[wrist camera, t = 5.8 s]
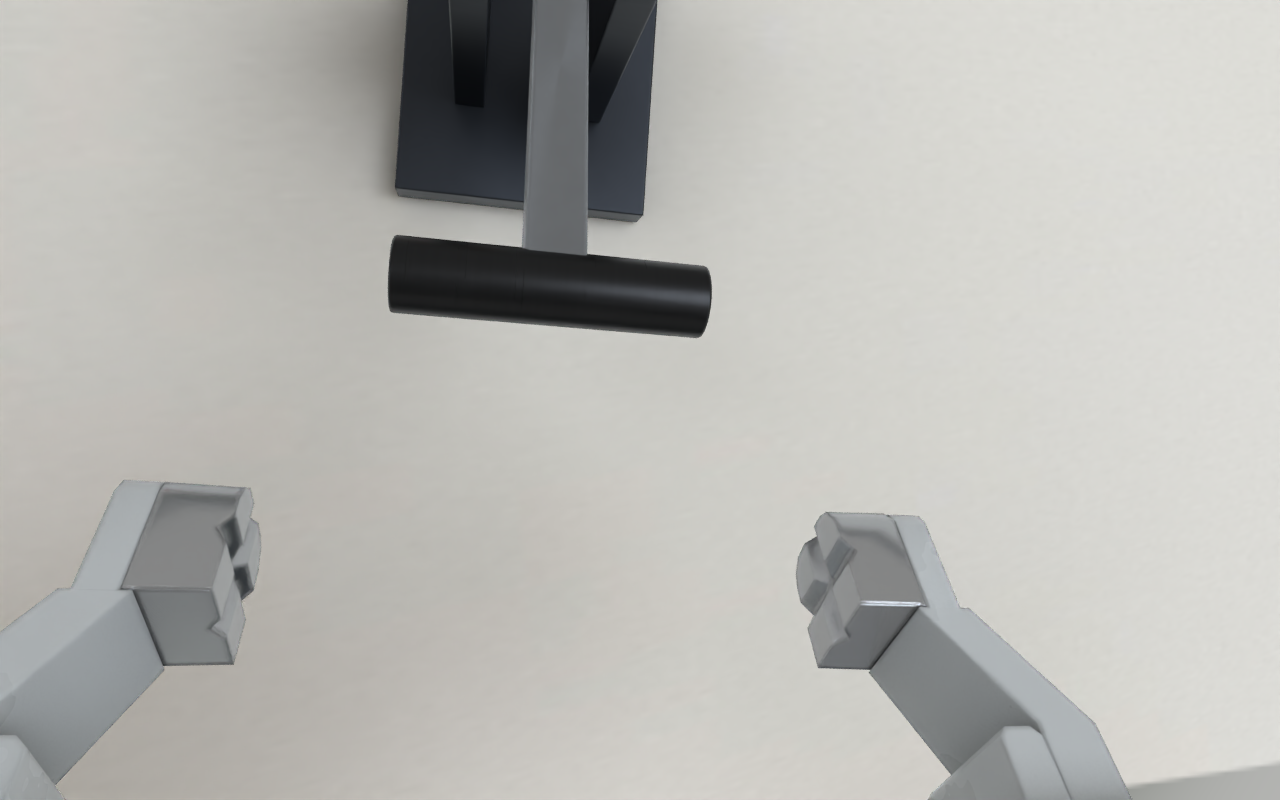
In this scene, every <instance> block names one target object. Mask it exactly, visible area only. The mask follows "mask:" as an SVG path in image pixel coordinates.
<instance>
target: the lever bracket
mask: <svg viewBox="0 0 1280 800" xmlns="http://www.w3.org/2000/svg"><path fill="white" fill-rule="evenodd" d="M532 8H533V0H408V4H407V19H406V34H405V48H404V63H403V77H402V92H401V106H400V121H399V136H398V150H397V165H396V179H395V188H396V191H397V194H398V196H402V197H411V198H421V199H430V200H439V201H448V202H457V203H466V204H475V205H484V206H494V207H503V208H512V209H521V210H524V190H525V167H526V144H527V122H528V99H529V76H530V54H531V31H532ZM656 13H657V0H589V53H588V211H587V217H594V218H603V219H612V220H621V221H630V222H637V221H638V220H639V219H640V218H641V217H642V216H643V211H644V196H645V181H646V165H647V150H648V135H649V120H650V104H651V89H652V74H653V58H654V43H655V28H656Z"/></svg>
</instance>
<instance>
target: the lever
mask: <svg viewBox="0 0 1280 800" xmlns="http://www.w3.org/2000/svg"><path fill="white" fill-rule="evenodd" d="M588 53H589V0H533V8H532V31H531V54H530V76H529V99H528V122H527V144H526V167H525V190H524V213H523V235H522V248H521V247H511V246H501V245H491V244H481V243H471V242H461V241H451V240H441V239H431V238H421V237H412V236H402V235H396V236H394V238H393V240H392V244H391V250H390V259H389V272H388V304H389V309H390V311H391V312H393V313H402V314H414V315H426V316H438V317H450V318H462V319H474V320H486V321H498V322H510V323H522V324H534V325H546V326H558V327H570V328H582V329H594V330H606V331H618V332H630V333H642V334H654V335H666V336H678V337H690V338H698V337H701V336H702V334H703V333H704V331H705V328H706V326H707V323H708V319H709V314H710V308H711V299H712V284H711V277H710V273H709V270H708V268H707V267H705V266H699V265H689V264H679V263H669V262H660V261H650V260H640V259H630V258H620V257H610V256H600V255H590V254H587V211H588Z"/></svg>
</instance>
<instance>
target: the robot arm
mask: <svg viewBox="0 0 1280 800" xmlns="http://www.w3.org/2000/svg"><path fill="white" fill-rule="evenodd" d="M253 506H254V500H253V496H252V492H251V488H246V487H231V486H216V485H201V484H186V483H171V482H155V481H135V480H123V481H122V483H121V484H120V485H119V486H118V487H117V488H116V489H115V490H114V492H113V494H112V496H111V499H110V501H109V503H108V505H107V508H106V510H105V512H104V514H103V516H102V519H101V521H100V523H99V525H98V528H97V530H96V532H95V534H94V537H93V539H92V541H91V543H90V546H89V548H88V550H87V552H86V555H85V557H84V559H83V561H82V564H81V566H80V568H79V570H78V573H77V575H76V577H75V579H74V582H73V584H72V586H71V588H57V589H56V590H55V591H54V592H52V593H51V594H50V595H48V596H47V597H46V598H44V599H43V600H42V601H40V602H39V603H38V604H36V605H35V606H34V607H32V608H31V609H30V610H28V611H27V612H26V613H24V614H23V615H22V616H20V617H19V618H18V619H16V620H15V621H14V622H12V623H11V624H10V625H8V626H7V627H6V628H5V629H3V630H2V631H1V632H0V800H65V799H64V797H63V796H62V795H61V793H60V792H59V791H58V789H57V788H56V787H55V785H56V784H57V783H58V782H59V781H60V780H61V779H62V777H63V776H64V775H65V774H66V773H67V772H68V771H69V770H70V769H71V768H72V767H73V766H74V765H75V764H76V763H77V762H78V761H79V760H80V758H81V757H82V756H83V755H84V754H85V753H86V752H87V751H88V750H89V749H90V748H91V747H92V746H93V745H94V744H95V743H96V742H97V741H98V739H99V738H100V737H101V736H102V735H103V734H104V733H105V732H106V731H107V730H108V729H109V728H110V727H111V726H112V725H113V724H114V723H115V721H116V720H117V719H118V718H119V717H120V716H121V715H122V714H123V713H124V712H125V711H126V710H127V709H128V708H129V707H130V706H131V705H132V704H133V702H134V701H135V700H136V699H137V698H138V697H139V696H140V695H141V694H142V693H143V692H144V691H145V690H146V689H147V688H148V687H149V686H150V685H151V683H152V682H153V681H154V680H155V679H156V678H157V677H158V676H159V675H160V674H161V673H162V672H163V671H164V667H163V666H181V665H234V661H235V658H236V654H237V650H238V647H239V643H240V639H241V636H242V632H243V628H244V625H245V621H246V618H245V614H244V610H243V606H242V600H243V599H244V598H245V597H247V596H248V595H249V594H250V593H251V592H252V591H253V590H254V587H255V583H256V579H257V575H258V570H259V562H260V554H261V535H260V529H259V524H258V523H257V522H256V521H254V520H253V519H252V518H250V517H251V513H252V510H253ZM814 528H815V531H816V535H817V537H815V538H813V539H812V540H810V541H808V542H807V543H805V544H804V546H803V548H802V550H801V552H800V554H799V556H798V562H797V570H796V579H797V589H798V593H799V597H800V601H801V603H802V604H803V605H804V606H805V607H806V608H807V609H808V610H809V611H810V612H811V613H812V614H813V615H814V616H813V618H812V620H811V622H810V624H809V626H808V632H809V636H810V640H811V643H812V647H813V651H814V655H815V659H816V662H817V666H818V668H833V669H863V670H870V672H869V673H870V674H871V676H872V677H873V678H874V679H875V681H876V682H877V683H878V684H879V686H880V687H881V688H882V689H883V691H884V692H885V693H886V694H887V696H888V697H889V698H890V699H891V701H892V702H893V703H894V704H895V705H896V707H897V708H898V709H899V710H900V712H901V713H902V714H903V715H904V717H905V718H906V719H907V720H908V722H909V723H910V724H911V725H912V727H913V728H914V729H915V730H916V732H917V733H918V734H919V735H920V737H921V738H922V739H923V740H924V742H925V743H926V744H927V745H928V747H929V748H930V749H931V750H932V752H933V753H934V754H935V755H936V756H937V758H938V759H939V760H940V761H941V763H942V764H943V765H944V766H945V768H946V769H947V770H948V771H949V773H950V774H951V776H950V777H949V778H948V779H946V780H945V781H944V782H943V783H942V784H941V785H940V786H939V787H938V788H937V789H936V790H934V791H933V792H932V794H931V795H930V797H929V798H928V800H1132V799H1131V796H1130V794H1129V792H1128V790H1127V788H1126V786H1125V784H1124V782H1123V780H1122V778H1121V775H1120V773H1119V771H1118V769H1117V767H1116V765H1115V763H1114V761H1113V759H1112V757H1111V755H1110V753H1109V751H1108V748H1107V746H1106V744H1105V742H1104V740H1103V738H1102V736H1101V734H1100V732H1099V730H1098V728H1097V726H1096V724H1095V723H1094V722H1093V721H1092V720H1091V719H1090V718H1089V717H1088V716H1087V715H1086V714H1084V713H1083V712H1082V711H1081V710H1080V709H1079V708H1078V707H1077V706H1076V705H1075V704H1074V703H1072V702H1071V701H1070V700H1069V699H1068V698H1067V697H1066V696H1065V695H1064V694H1063V693H1061V692H1060V691H1059V690H1058V689H1057V688H1056V687H1055V686H1054V685H1053V684H1052V683H1051V682H1049V681H1048V680H1047V679H1046V678H1045V677H1044V676H1043V675H1042V674H1041V673H1040V672H1038V671H1037V670H1036V669H1035V668H1034V667H1033V666H1032V665H1031V664H1030V663H1029V662H1028V661H1026V660H1025V659H1024V658H1023V657H1022V656H1021V655H1020V654H1019V653H1018V652H1017V651H1015V650H1014V649H1013V648H1012V647H1011V646H1010V645H1009V644H1008V643H1007V642H1006V641H1005V640H1003V639H1002V638H1001V637H1000V636H999V635H998V634H997V633H996V632H995V631H994V630H992V629H991V628H990V627H989V626H988V625H987V624H986V623H985V622H984V621H983V620H982V619H980V618H979V617H978V616H977V615H976V614H975V613H974V612H973V611H972V610H971V609H969V608H960V606H959V603H958V601H957V598H956V596H955V594H954V591H953V589H952V586H951V584H950V582H949V579H948V577H947V574H946V572H945V570H944V567H943V565H942V562H941V560H940V558H939V555H938V553H937V550H936V548H935V546H934V543H933V541H932V538H931V536H930V534H929V531H928V529H927V526H926V524H925V522H924V521H923V520H922V519H921V518H920V517H919V516H910V515H885V514H877V513H843V512H826V513H824V514H822V515H821V516H820V517H819V519H818V520H817V522H816V524H815V526H814Z"/></svg>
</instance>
